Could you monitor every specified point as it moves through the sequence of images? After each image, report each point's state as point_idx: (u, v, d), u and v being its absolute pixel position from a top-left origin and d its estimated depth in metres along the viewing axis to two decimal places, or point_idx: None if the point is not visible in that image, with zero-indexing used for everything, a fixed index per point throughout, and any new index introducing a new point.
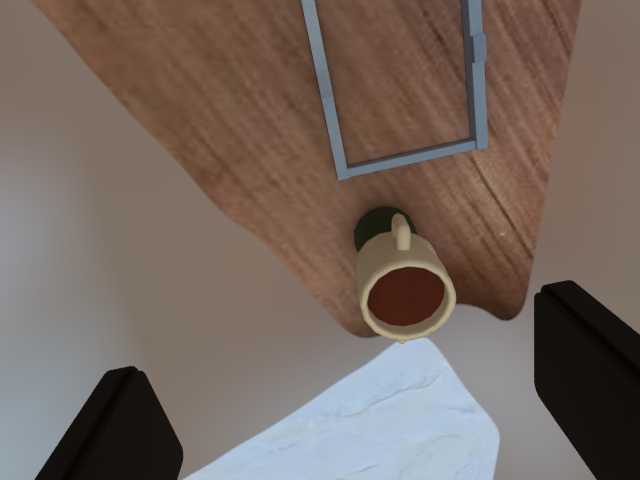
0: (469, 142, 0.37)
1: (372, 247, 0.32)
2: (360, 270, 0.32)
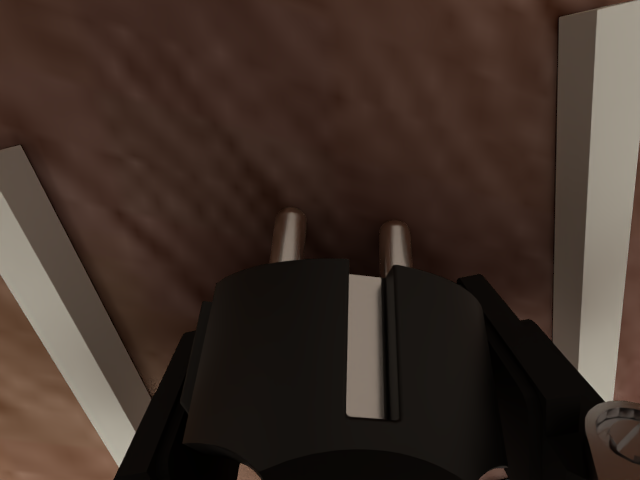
0: None
1: None
2: None
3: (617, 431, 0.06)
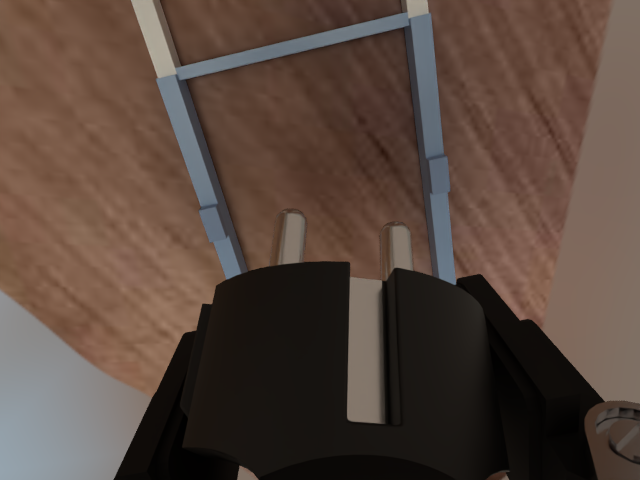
0: None
1: None
2: None
3: (617, 431, 0.06)
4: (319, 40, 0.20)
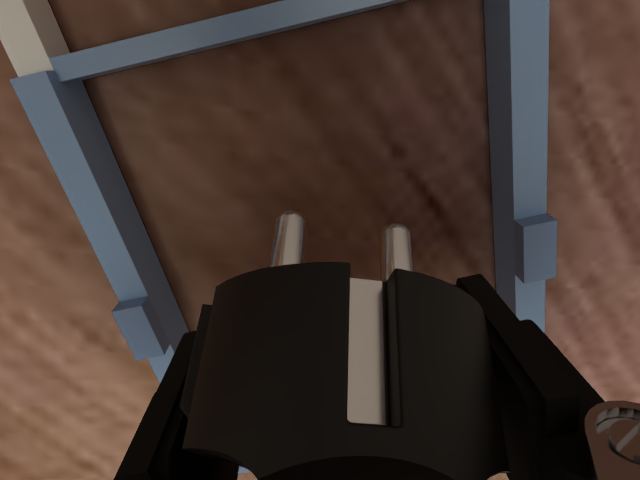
0: None
1: None
2: None
3: (616, 431, 0.06)
4: (325, 4, 0.10)
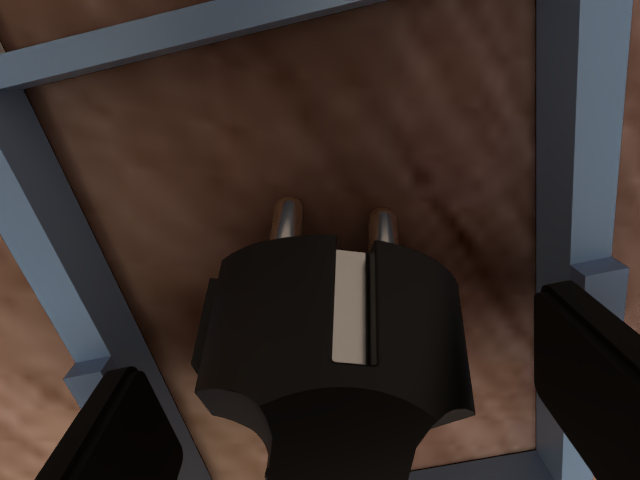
0: None
1: None
2: None
3: None
4: None
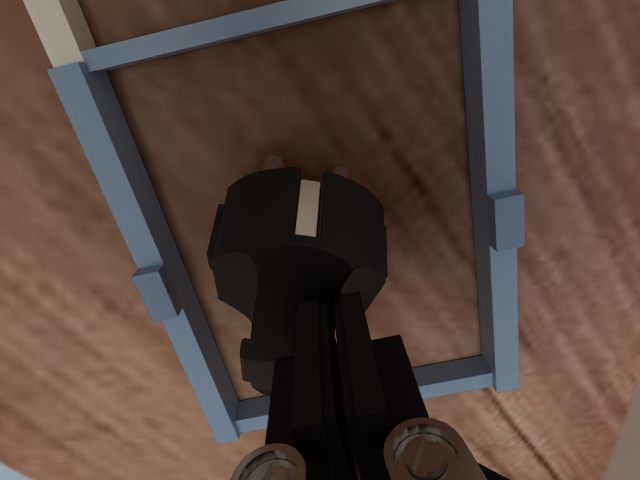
0: (480, 376, 0.18)
1: None
2: None
3: (409, 452, 0.06)
4: (320, 4, 0.12)
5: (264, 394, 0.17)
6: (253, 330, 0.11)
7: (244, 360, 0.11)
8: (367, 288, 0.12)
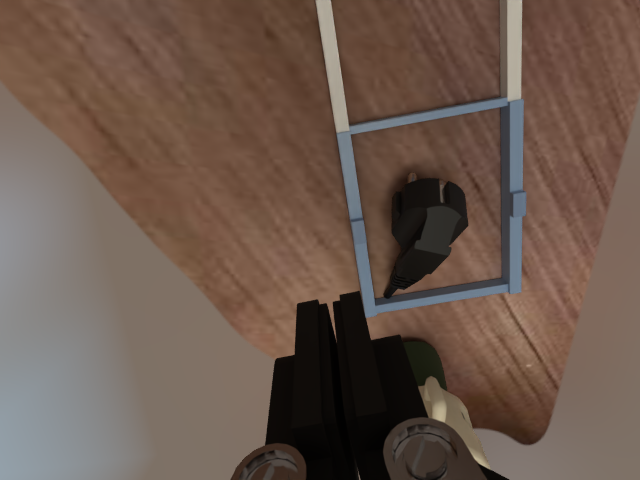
0: (502, 286, 0.36)
1: None
2: None
3: (409, 452, 0.06)
4: (447, 112, 0.30)
5: (393, 286, 0.34)
6: (421, 237, 0.29)
7: (415, 249, 0.29)
8: (459, 228, 0.30)
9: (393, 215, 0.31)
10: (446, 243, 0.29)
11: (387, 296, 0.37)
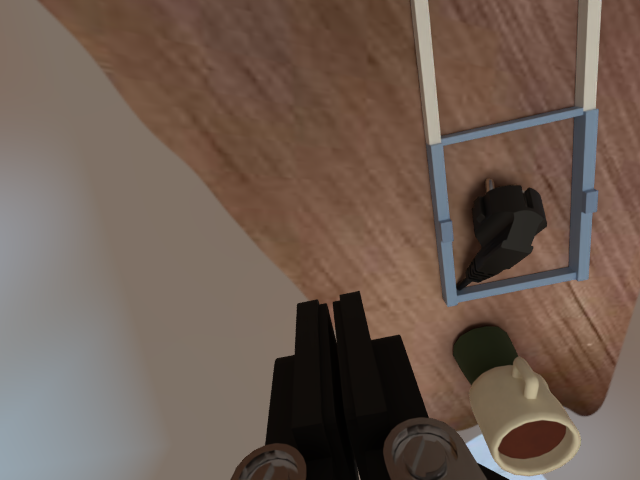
0: (570, 274, 0.40)
1: (494, 385, 0.35)
2: (485, 409, 0.35)
3: (409, 452, 0.06)
4: (528, 123, 0.34)
5: (469, 279, 0.38)
6: (507, 237, 0.33)
7: (501, 248, 0.33)
8: (538, 229, 0.34)
9: (477, 217, 0.35)
10: (529, 242, 0.33)
11: (460, 288, 0.41)
